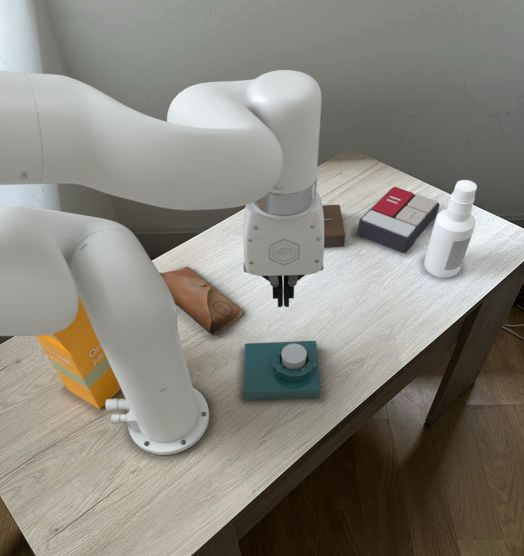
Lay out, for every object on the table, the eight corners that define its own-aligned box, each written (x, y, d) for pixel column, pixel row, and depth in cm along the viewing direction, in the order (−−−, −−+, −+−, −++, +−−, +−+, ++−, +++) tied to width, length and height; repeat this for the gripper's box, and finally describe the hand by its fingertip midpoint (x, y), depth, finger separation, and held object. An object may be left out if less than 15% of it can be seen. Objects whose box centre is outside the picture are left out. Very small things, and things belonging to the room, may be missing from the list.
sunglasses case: (247, 310, 94) (230, 298, 89) (224, 341, 95) (205, 331, 89) (185, 264, 103) (166, 250, 97) (165, 293, 103) (144, 280, 97)
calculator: (441, 200, 107) (409, 236, 99) (436, 217, 111) (405, 254, 103) (393, 183, 112) (359, 217, 104) (389, 200, 115) (356, 234, 107)
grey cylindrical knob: (282, 370, 82) (281, 363, 81) (281, 350, 85) (280, 343, 83) (307, 369, 82) (307, 362, 81) (305, 349, 84) (305, 342, 83)
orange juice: (66, 389, 86) (16, 306, 70) (104, 353, 90) (65, 267, 75) (100, 410, 83) (56, 329, 67) (137, 372, 87) (104, 287, 72)
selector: (275, 249, 105) (274, 237, 103) (273, 219, 112) (273, 206, 109) (344, 246, 105) (345, 234, 103) (338, 216, 111) (339, 203, 109)
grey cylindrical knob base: (245, 400, 83) (244, 386, 80) (245, 351, 89) (244, 336, 86) (320, 397, 83) (321, 383, 80) (315, 348, 89) (316, 333, 86)
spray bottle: (460, 280, 98) (489, 199, 84) (423, 276, 99) (445, 196, 85) (459, 256, 102) (486, 175, 88) (423, 252, 103) (444, 172, 89)
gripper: (218, 210, 58) (230, 320, 72) (351, 207, 58) (337, 318, 72) (221, 173, 63) (232, 283, 77) (344, 169, 63) (332, 280, 77)
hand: (283, 300), depth 75 cm, fingers closed
